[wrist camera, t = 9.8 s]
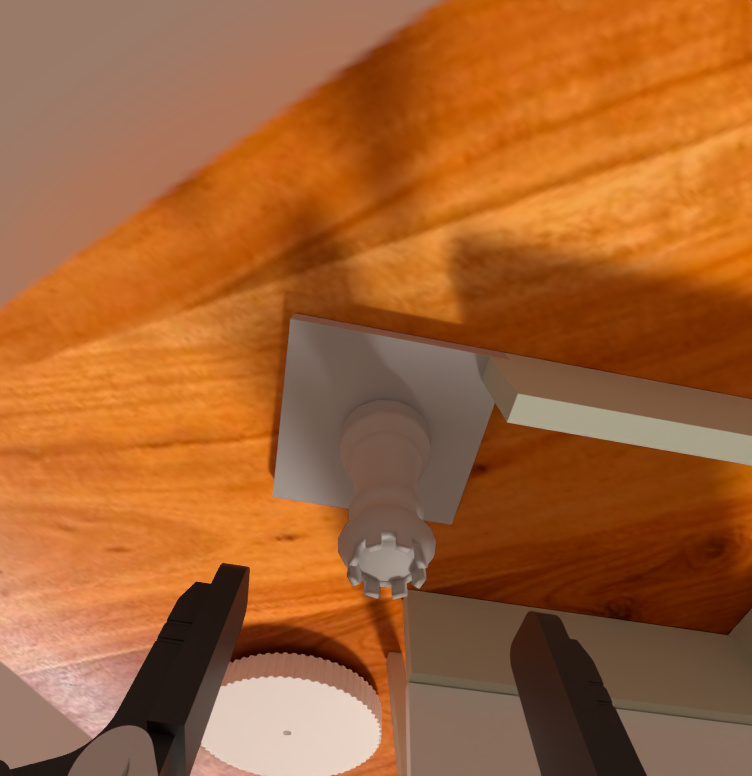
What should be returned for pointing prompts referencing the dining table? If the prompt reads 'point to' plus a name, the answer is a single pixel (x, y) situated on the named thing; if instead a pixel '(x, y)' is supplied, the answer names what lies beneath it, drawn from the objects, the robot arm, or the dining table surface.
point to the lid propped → (515, 749)
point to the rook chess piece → (386, 497)
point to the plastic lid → (293, 717)
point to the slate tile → (370, 383)
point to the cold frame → (595, 634)
